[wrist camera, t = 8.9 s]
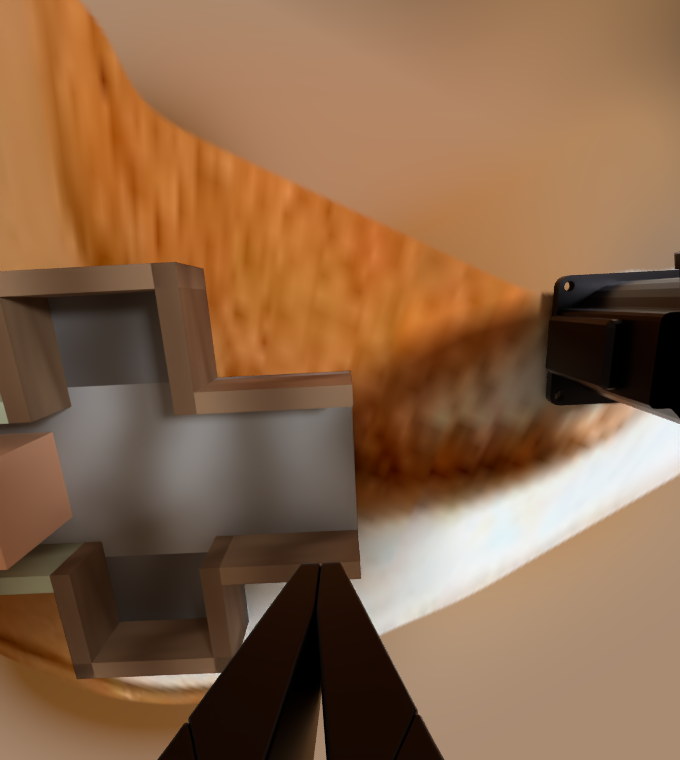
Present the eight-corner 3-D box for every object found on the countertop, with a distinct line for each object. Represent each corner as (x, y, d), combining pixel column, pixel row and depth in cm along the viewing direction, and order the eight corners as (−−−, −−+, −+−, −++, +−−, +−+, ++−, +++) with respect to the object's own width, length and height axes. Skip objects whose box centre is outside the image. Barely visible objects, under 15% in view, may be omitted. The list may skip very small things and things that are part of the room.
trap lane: (345, 261, 17) (346, 253, 14) (361, 616, 22) (364, 666, 19) (-118, 285, 18) (-213, 282, 15) (-7, 632, 22) (-62, 684, 19)
